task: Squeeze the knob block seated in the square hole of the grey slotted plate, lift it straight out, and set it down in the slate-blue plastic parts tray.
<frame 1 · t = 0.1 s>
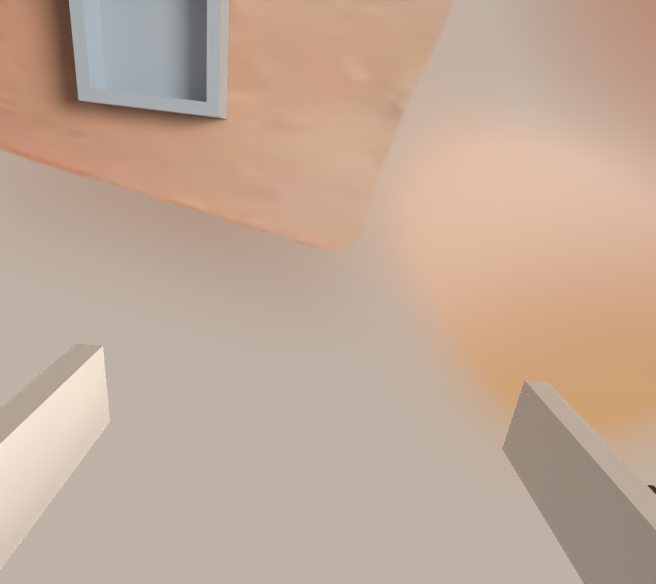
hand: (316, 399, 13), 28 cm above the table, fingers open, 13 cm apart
parts tray: (161, 39, 33), on the table
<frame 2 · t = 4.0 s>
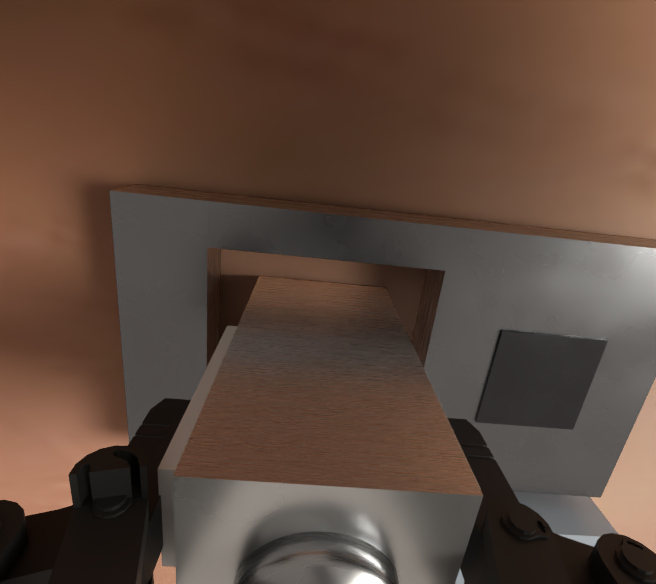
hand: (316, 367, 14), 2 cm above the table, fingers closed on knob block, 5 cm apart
parts tray: (444, 552, 21), on the table
knob block: (316, 338, 17), resting in grey slotted plate, touching gripper
grey slotted plate: (387, 344, 17), on the table
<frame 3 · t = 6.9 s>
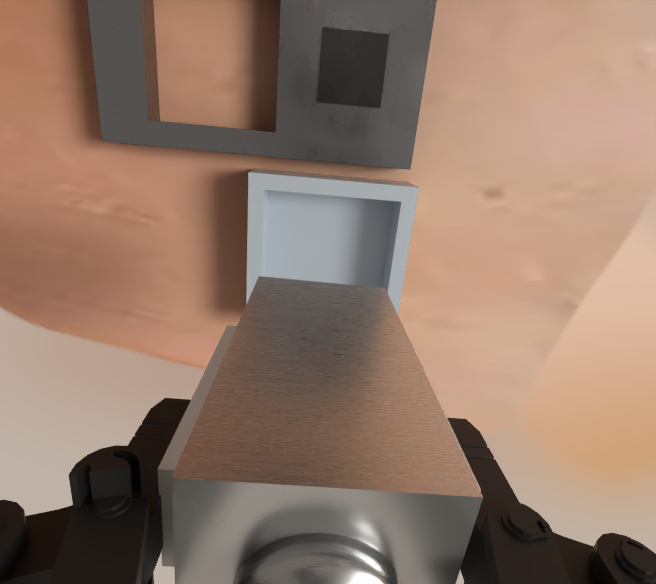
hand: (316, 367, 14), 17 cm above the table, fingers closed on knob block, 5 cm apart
parts tray: (326, 250, 31), on the table
knob block: (316, 338, 17), point 15 cm above the table, touching gripper
grey slotted plate: (265, 65, 26), on the table
when the fingers open (4 cm above the table, at t = 10.0 s): knob block drops 1 cm, resting on parts tray.
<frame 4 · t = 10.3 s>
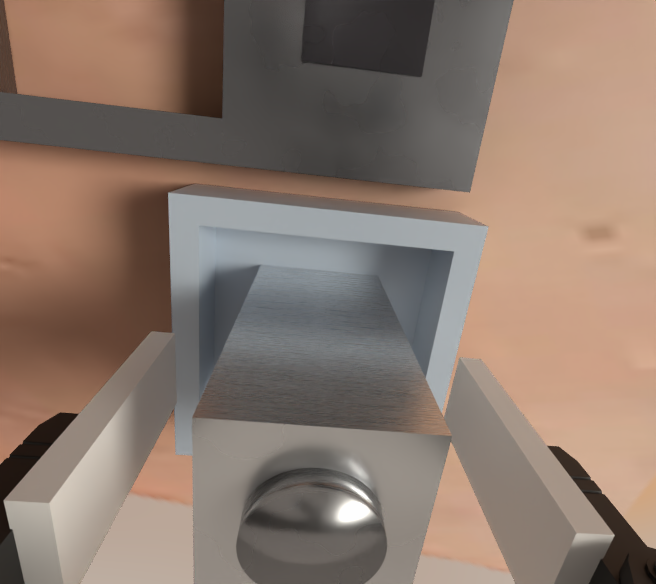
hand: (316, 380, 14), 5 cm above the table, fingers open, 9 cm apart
parts tray: (316, 318, 18), on the table
knob block: (314, 323, 18), point 1 cm above the table, touching parts tray
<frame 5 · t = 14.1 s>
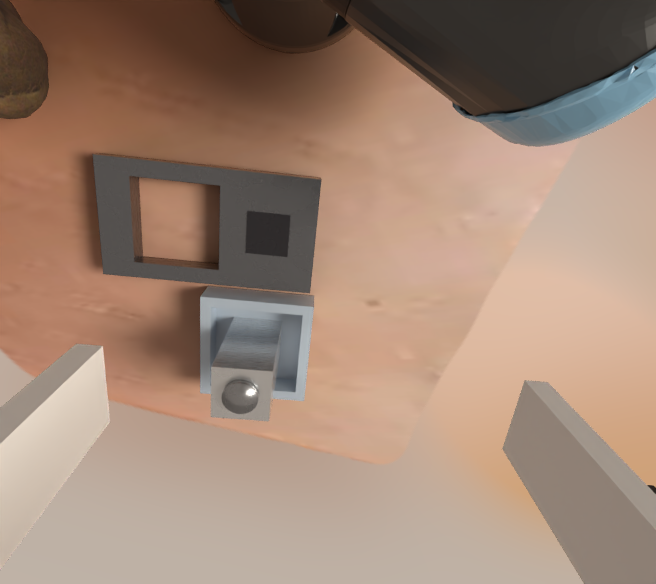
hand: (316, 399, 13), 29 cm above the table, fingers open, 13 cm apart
parts tray: (258, 337, 44), on the table
knob block: (257, 339, 43), point 1 cm above the table, touching parts tray
grey slotted plate: (213, 224, 39), on the table
sculpture: (26, 65, 34), on the table
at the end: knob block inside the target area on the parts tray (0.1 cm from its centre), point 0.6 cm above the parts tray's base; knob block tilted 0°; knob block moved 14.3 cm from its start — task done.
